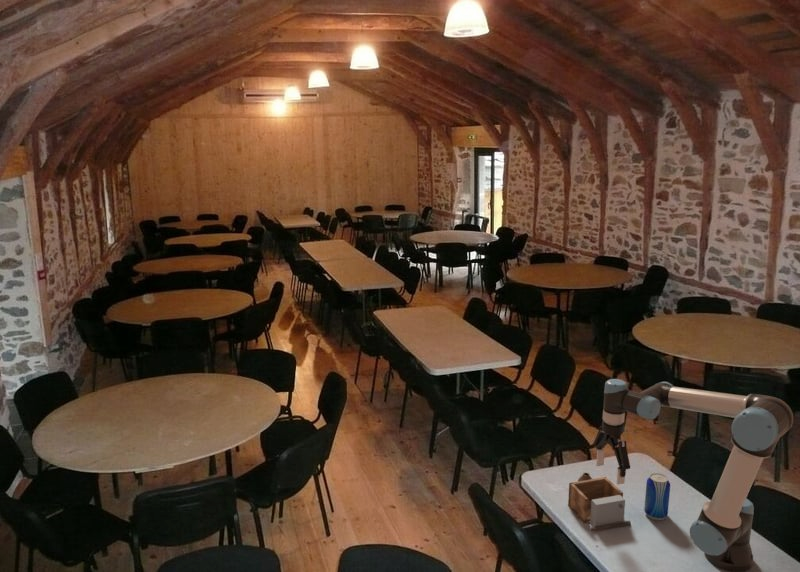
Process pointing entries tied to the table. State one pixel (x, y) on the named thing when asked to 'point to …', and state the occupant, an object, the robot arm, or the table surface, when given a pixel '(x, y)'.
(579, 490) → the box
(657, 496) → the beer can
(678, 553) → the table surface
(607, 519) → the grey flat-topped box
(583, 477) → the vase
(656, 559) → the table surface
